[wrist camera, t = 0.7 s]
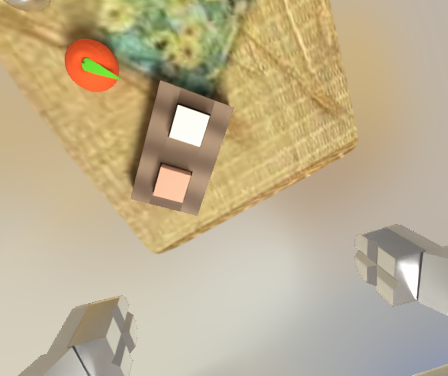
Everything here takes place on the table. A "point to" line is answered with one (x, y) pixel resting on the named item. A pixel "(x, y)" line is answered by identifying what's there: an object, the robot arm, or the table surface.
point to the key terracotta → (172, 183)
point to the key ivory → (189, 126)
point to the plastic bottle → (29, 4)
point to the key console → (180, 147)
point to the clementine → (91, 65)
